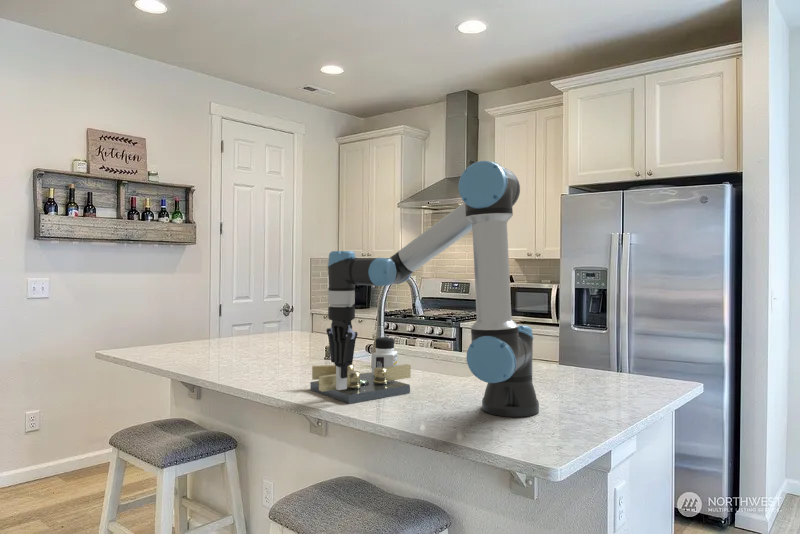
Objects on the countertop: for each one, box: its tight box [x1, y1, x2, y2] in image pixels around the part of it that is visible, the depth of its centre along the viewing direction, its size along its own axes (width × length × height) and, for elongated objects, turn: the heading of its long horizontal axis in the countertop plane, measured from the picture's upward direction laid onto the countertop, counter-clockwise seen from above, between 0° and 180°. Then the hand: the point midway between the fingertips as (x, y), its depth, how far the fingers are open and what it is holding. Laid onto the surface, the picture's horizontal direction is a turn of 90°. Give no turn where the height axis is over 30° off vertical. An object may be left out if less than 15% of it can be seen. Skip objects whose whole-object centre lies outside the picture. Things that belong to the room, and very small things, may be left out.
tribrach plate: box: [309, 373, 411, 405], centre depth 179 cm, size 22×22×3 cm
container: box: [371, 336, 399, 375], centre depth 206 cm, size 8×8×13 cm
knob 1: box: [318, 370, 361, 392], centre depth 170 cm, size 13×4×4 cm, turn 128°
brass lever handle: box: [311, 363, 355, 381], centre depth 184 cm, size 13×4×4 cm, turn 101°
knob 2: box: [373, 363, 412, 384], centre depth 182 cm, size 13×4×4 cm, turn 128°
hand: (341, 388), depth 165 cm, fingers closed
